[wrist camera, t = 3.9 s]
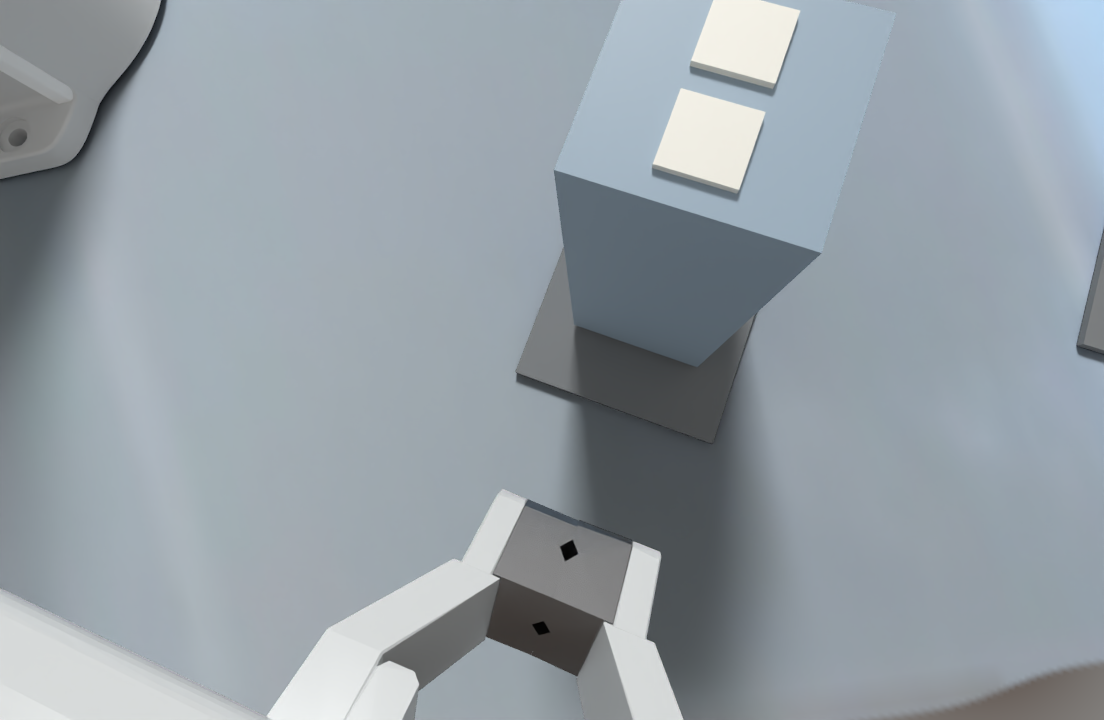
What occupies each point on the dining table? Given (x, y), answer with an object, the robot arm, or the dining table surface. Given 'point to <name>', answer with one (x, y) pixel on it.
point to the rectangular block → (710, 161)
